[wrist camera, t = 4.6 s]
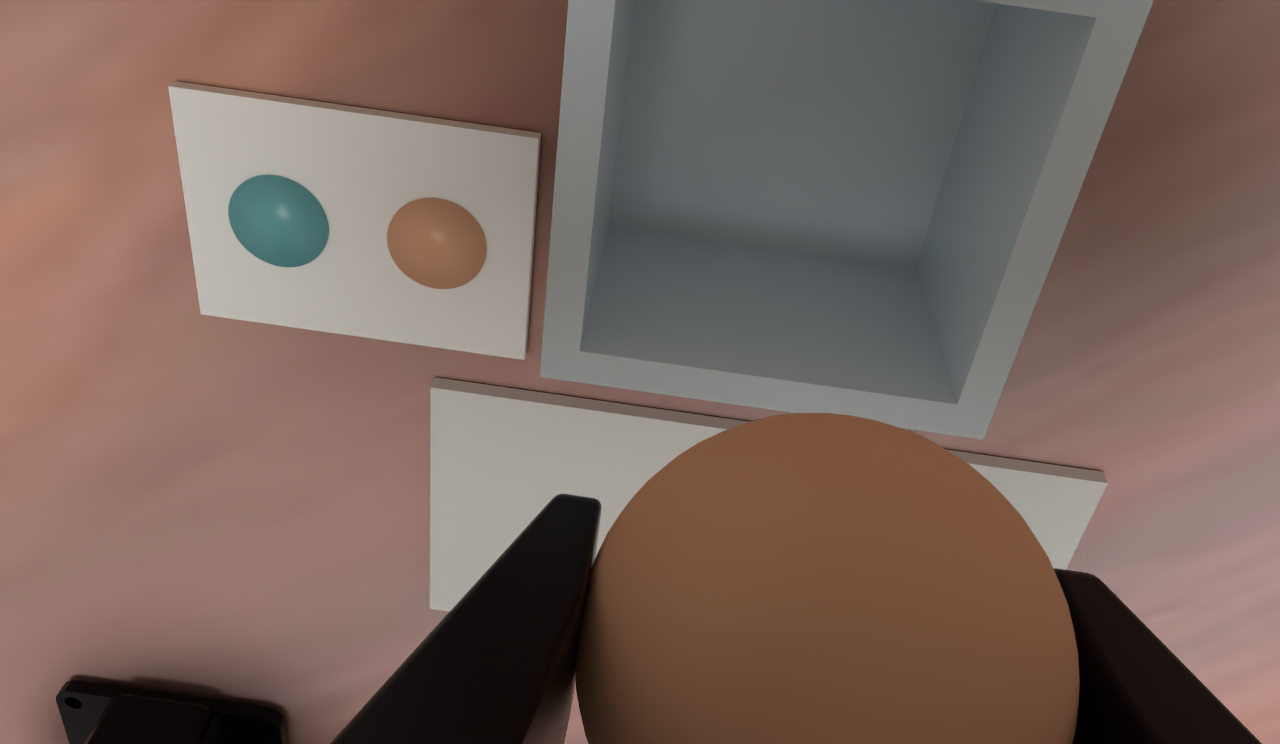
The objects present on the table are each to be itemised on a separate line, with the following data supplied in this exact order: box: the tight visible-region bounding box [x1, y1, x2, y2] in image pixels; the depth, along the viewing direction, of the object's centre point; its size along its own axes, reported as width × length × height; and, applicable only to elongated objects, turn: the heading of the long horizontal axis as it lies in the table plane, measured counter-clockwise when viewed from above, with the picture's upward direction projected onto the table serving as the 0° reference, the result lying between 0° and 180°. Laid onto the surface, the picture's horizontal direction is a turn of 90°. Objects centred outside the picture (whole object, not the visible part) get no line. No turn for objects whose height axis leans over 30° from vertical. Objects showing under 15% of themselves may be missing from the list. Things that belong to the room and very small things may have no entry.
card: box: [168, 81, 541, 360], centre depth 21 cm, size 5×7×1 cm
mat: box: [430, 377, 1108, 612], centre depth 25 cm, size 7×15×1 cm, turn 83°
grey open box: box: [540, 0, 1154, 440], centre depth 17 cm, size 7×7×5 cm
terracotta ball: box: [575, 413, 1080, 744], centre depth 8 cm, size 4×4×4 cm
